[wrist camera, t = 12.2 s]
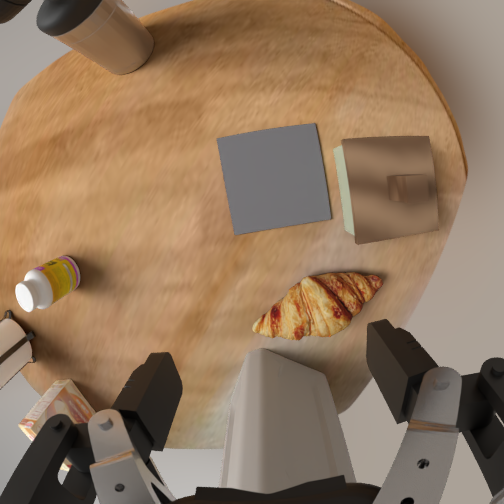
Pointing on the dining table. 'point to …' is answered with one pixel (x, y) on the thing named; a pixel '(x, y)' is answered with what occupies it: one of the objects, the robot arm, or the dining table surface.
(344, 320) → the croissant
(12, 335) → the coffee press
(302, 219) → the plate
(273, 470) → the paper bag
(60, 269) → the supplement bottle
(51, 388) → the coffeecake box
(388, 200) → the lid
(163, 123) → the dining table surface
